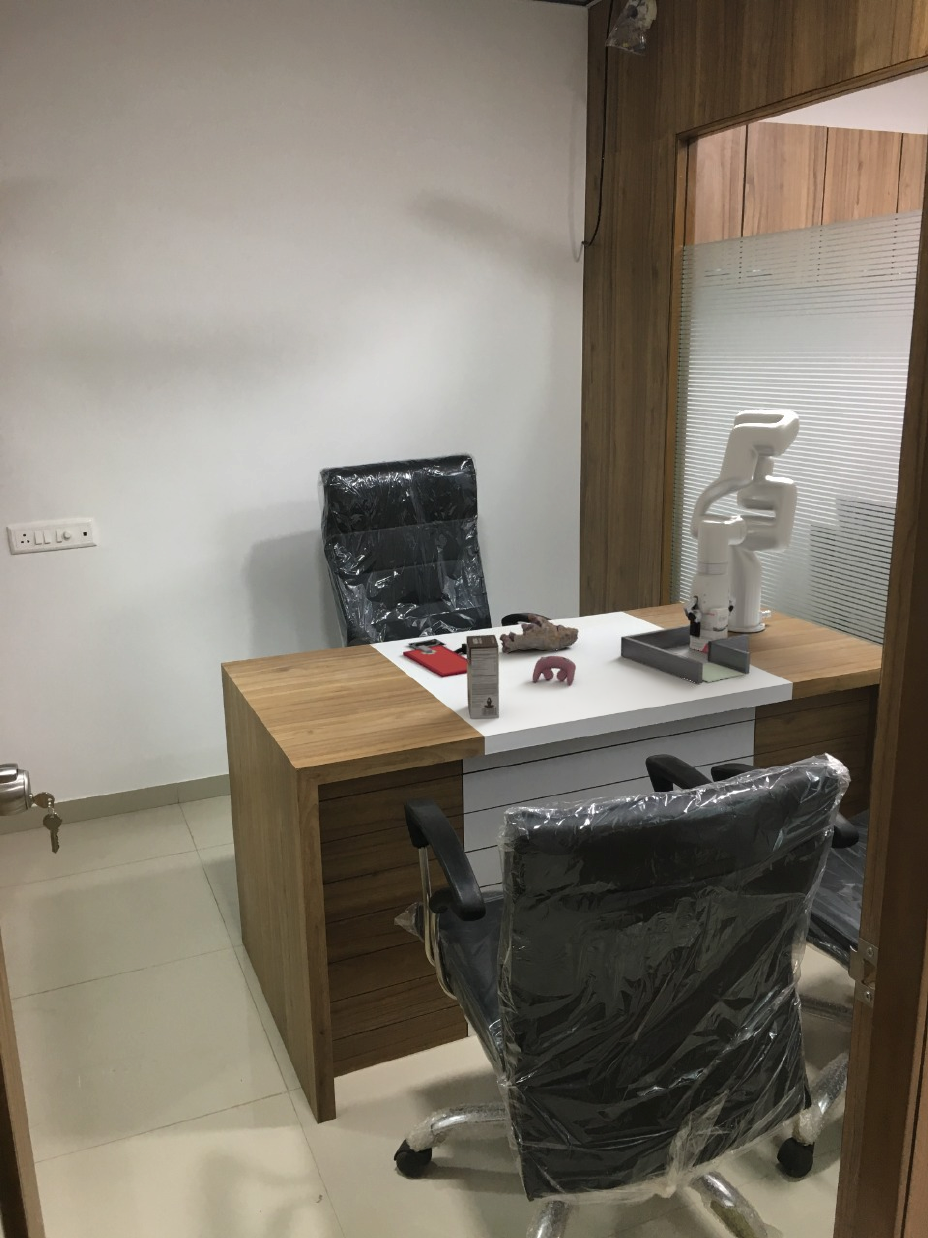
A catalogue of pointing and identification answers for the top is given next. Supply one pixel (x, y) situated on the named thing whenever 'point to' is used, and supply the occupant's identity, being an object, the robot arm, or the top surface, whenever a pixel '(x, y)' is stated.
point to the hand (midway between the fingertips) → (708, 633)
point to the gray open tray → (652, 654)
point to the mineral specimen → (539, 636)
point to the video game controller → (555, 662)
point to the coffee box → (483, 676)
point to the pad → (717, 672)
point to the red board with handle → (438, 657)
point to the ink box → (711, 628)
